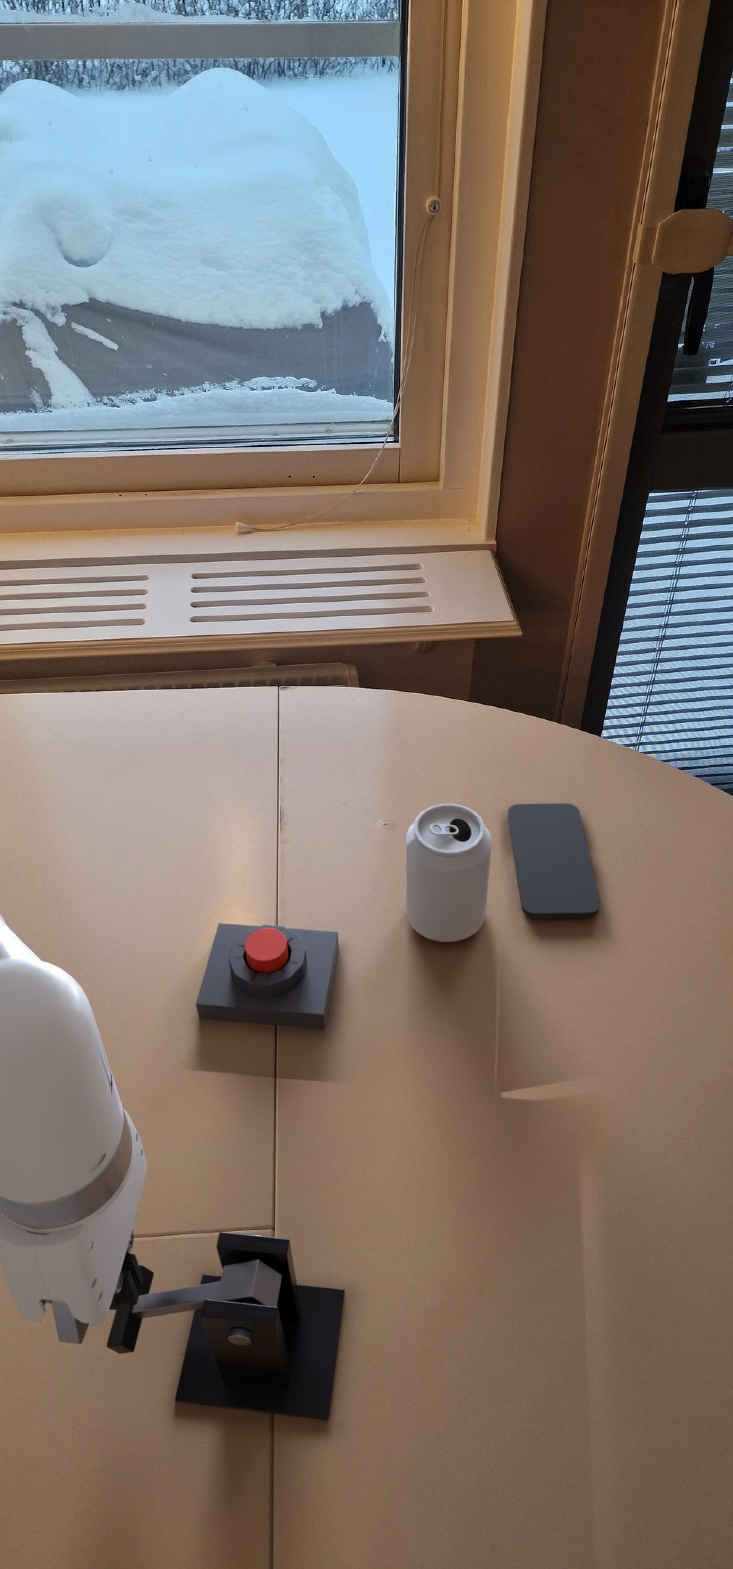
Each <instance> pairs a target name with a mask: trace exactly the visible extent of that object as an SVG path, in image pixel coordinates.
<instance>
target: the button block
mask: <svg viewBox="0 0 733 1569" xmlns="http://www.w3.org/2000/svg"><path fill="white" fill-rule="evenodd" d="M262 928H273V929H276V930H278V931H280V932H281V933H283V935H284V936H285V937H286V940H287V948H288V960H287V962H286V964H285V965H284V966H283V967H282V968H281V969H279V970H278V971H275V972H272V973H259V972H256V971H254V970H253V969H252V968H251V967H250V966H249V965H248V962H247V957H246V951H245V942H246V940H247V938H248V936H249V935H250V934H252V933H253V932H254V931H256V930H259V929H262ZM339 944H340V943H339V931H333V930H320V929H319V930H317V929H305V928H292V927H291V928H290V927H285V926H283V925H275V924H261V925H251V924H240V923H239V924H237V923H223V922H218V924H217V928H216V932H215V935H214V938H213V943H212V947H211V950H210V953H209V957H208V960H207V964H206V967H205V971H204V974H203V978H202V981H201V984H200V988H199V992H198V996H197V1000H196V1003H195V1006H196V1011H197V1015H198V1019H199V1020H207V1021H217V1022H218V1021H220V1022H231V1023H239V1024H240V1023H241V1024H242V1023H243V1024H253V1025H265V1026H278V1027H287V1028H288V1027H291V1028H303V1029H312V1030H313V1029H314V1030H326V1026H327V1019H328V1014H329V1009H330V1001H331V996H332V990H333V985H334V984H333V983H334V978H335V972H336V965H337V959H338V954H339V949H340V945H339Z"/></svg>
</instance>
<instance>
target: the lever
mask: <svg viewBox="0 0 733 1569" xmlns="http://www.w3.org/2000/svg"><path fill="white" fill-rule="evenodd" d="M139 1267H140V1270H141V1272H142V1275H143V1278H144V1279H143V1283H142V1286H141V1287H140V1288H139V1289H138V1294H139V1298H138V1302H137V1304H136V1305H128V1304H120V1305H119V1309H117V1310H115V1313H114V1317H113V1319H112V1324H111V1327H110V1331H109V1334H108V1337H107V1342H106V1346H105V1347H106V1348H108V1349H109V1350H112V1351H113V1352H114V1353H117V1354H119V1355H122V1354H129V1353H134V1352H135V1349H136V1346H137V1341H138V1338H139V1334H140V1330H141V1326H142V1323H143V1319H148V1318H154V1317H160V1316H166V1315H173V1314H179V1313H184V1312H190V1311H195V1310H198V1309H203V1305H204V1301H205V1299H210V1300H219V1301H228V1302H237V1303H246V1304H255V1305H264V1306H273V1307H277V1302H278V1296H279V1290H280V1284H281V1278H282V1275H281V1274H279V1273H278V1272H276V1271H275V1270H273V1269H272V1268H270V1267H269V1266H267V1265H266V1264H265V1263H263V1262H262V1261H260V1260H253V1261H247V1262H242V1263H237V1264H231V1265H226V1266H224V1267H223V1269H222V1272H221V1276H222V1277H221V1281H220V1282H214V1283H208V1284H202V1285H201V1284H198V1285H191V1286H186V1287H181V1288H174V1289H168V1290H163V1291H157V1292H152V1293H150V1291H151V1287H152V1284H153V1279H154V1275H155V1272H154V1271H153V1270H151V1269H149V1268H147V1267H146V1266H144V1265H142V1264H139Z"/></svg>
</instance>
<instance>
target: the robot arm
mask: <svg viewBox="0 0 733 1569" xmlns="http://www.w3.org/2000/svg"><path fill="white" fill-rule="evenodd" d="M144 1150H145V1149H144V1147H143V1144H142V1141H141V1138H140V1135H139V1133H138V1130H137V1128H136V1127H135V1124H134V1122H133V1121H132V1118H131V1117H130V1116H129V1113H128V1112H127V1111H126V1110H125V1107H124V1106H123V1103H122V1100H121V1098H120V1095H119V1092H118V1087H117V1085H116V1082H115V1078H114V1075H113V1072H112V1069H111V1065H110V1062H109V1059H108V1056H107V1053H106V1050H105V1047H104V1044H103V1040H102V1038H101V1034H100V1032H99V1028H98V1025H97V1022H96V1019H95V1016H94V1012H93V1009H92V1007H91V1004H90V1001H89V999H88V997H87V994H86V993H85V991H84V990H83V988H82V986H81V985H80V984H79V983H78V981H77V980H76V979H75V978H73V976H71V975H70V974H69V973H67V972H66V971H65V970H64V969H62V968H61V967H59V966H57V965H54V964H53V963H50V962H47V961H43V960H41V958H39V957H38V956H37V955H36V953H34V952H33V950H31V949H30V948H29V947H28V946H27V945H26V944H25V943H24V942H23V941H22V940H21V939H20V938H19V937H18V936H17V935H16V934H15V932H13V930H12V929H10V927H9V926H8V925H7V924H6V922H5V919H4V918H3V916H2V915H1V914H0V1266H1V1270H2V1273H3V1276H4V1279H5V1281H6V1284H7V1287H8V1289H9V1292H10V1294H11V1296H12V1299H13V1301H14V1303H15V1305H16V1307H17V1309H18V1310H19V1313H20V1314H21V1315H22V1316H23V1318H24V1319H26V1320H30V1321H33V1322H38V1323H40V1322H42V1320H43V1318H44V1316H45V1315H46V1311H47V1308H46V1304H50V1305H51V1307H52V1312H53V1317H54V1322H55V1328H56V1333H57V1337H58V1341H59V1342H61V1343H67V1344H69V1343H70V1344H75V1345H81V1344H82V1343H83V1342H84V1340H85V1336H86V1334H87V1331H88V1328H89V1327H92V1328H95V1327H96V1326H98V1325H99V1324H100V1323H102V1322H103V1321H104V1320H105V1319H106V1317H107V1316H108V1313H109V1311H116V1310H117V1309H119V1305H120V1304H128V1305H136V1304H137V1302H138V1298H139V1294H138V1289H139V1288H140V1287H141V1286H142V1283H143V1279H144V1278H143V1275H142V1272H141V1270H140V1267H139V1265H140V1264H139V1262H138V1260H137V1256H136V1254H135V1253H131V1252H132V1250H133V1247H134V1242H135V1233H134V1225H135V1221H136V1218H137V1214H138V1210H139V1207H140V1202H141V1199H142V1196H143V1191H144V1187H145V1183H146V1177H147V1169H148V1168H147V1158H146V1155H145V1151H144Z"/></svg>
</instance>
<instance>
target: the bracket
mask: <svg viewBox="0 0 733 1569" xmlns="http://www.w3.org/2000/svg"><path fill="white" fill-rule="evenodd" d="M215 1248H216V1251H217V1253H218V1258H219V1262H220V1265H221V1266H220V1267H221V1268H222V1270H223V1267H224V1266H226V1265H231V1264H237V1263H242V1262H247V1261H253V1260H260V1261H262V1262H263V1263H265V1264H266V1265H267V1266H269V1267H270V1268H272V1269H273V1270H275V1271H276V1272H278V1273H279V1274H281V1275H282V1278H281V1284H280V1290H279V1296H278V1302H277V1307H273V1306H264V1305H255V1304H246V1303H237V1302H228V1301H219V1300H210V1299H205V1301H204V1305H203V1309H198V1310H194V1312H193V1317H192V1321H191V1326H190V1329H189V1335H188V1338H187V1343H186V1347H185V1352H184V1356H183V1361H182V1366H181V1370H180V1374H179V1378H178V1384H177V1387H176V1393H175V1397H174V1401H175V1403H180V1404H190V1405H197V1406H206V1407H214V1408H221V1409H222V1408H223V1409H232V1410H239V1411H247V1412H255V1413H264V1414H271V1415H279V1416H280V1415H281V1416H289V1417H296V1418H304V1419H313V1420H320V1421H321V1420H322V1421H329V1420H330V1412H331V1406H332V1405H331V1404H332V1398H333V1397H332V1395H333V1387H334V1381H335V1370H336V1362H337V1356H338V1347H339V1340H340V1331H341V1324H342V1315H343V1309H344V1308H343V1307H344V1299H345V1292H346V1291H345V1289H344V1288H338V1287H337V1288H336V1287H327V1286H317V1285H308V1284H300V1283H297V1277H296V1270H295V1265H294V1259H293V1253H292V1246H291V1241H290V1239H289V1238H282V1237H272V1236H264V1235H259V1234H244V1233H234V1232H227V1231H220V1232H219V1233H218V1236H217V1242H216V1245H215ZM221 1277H222V1275H217V1274H216V1275H215V1274H209V1273H208V1274H207V1273H203V1274H202V1277H201V1281H200V1285H202V1284H208V1283H214V1282H220V1281H221Z"/></svg>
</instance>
